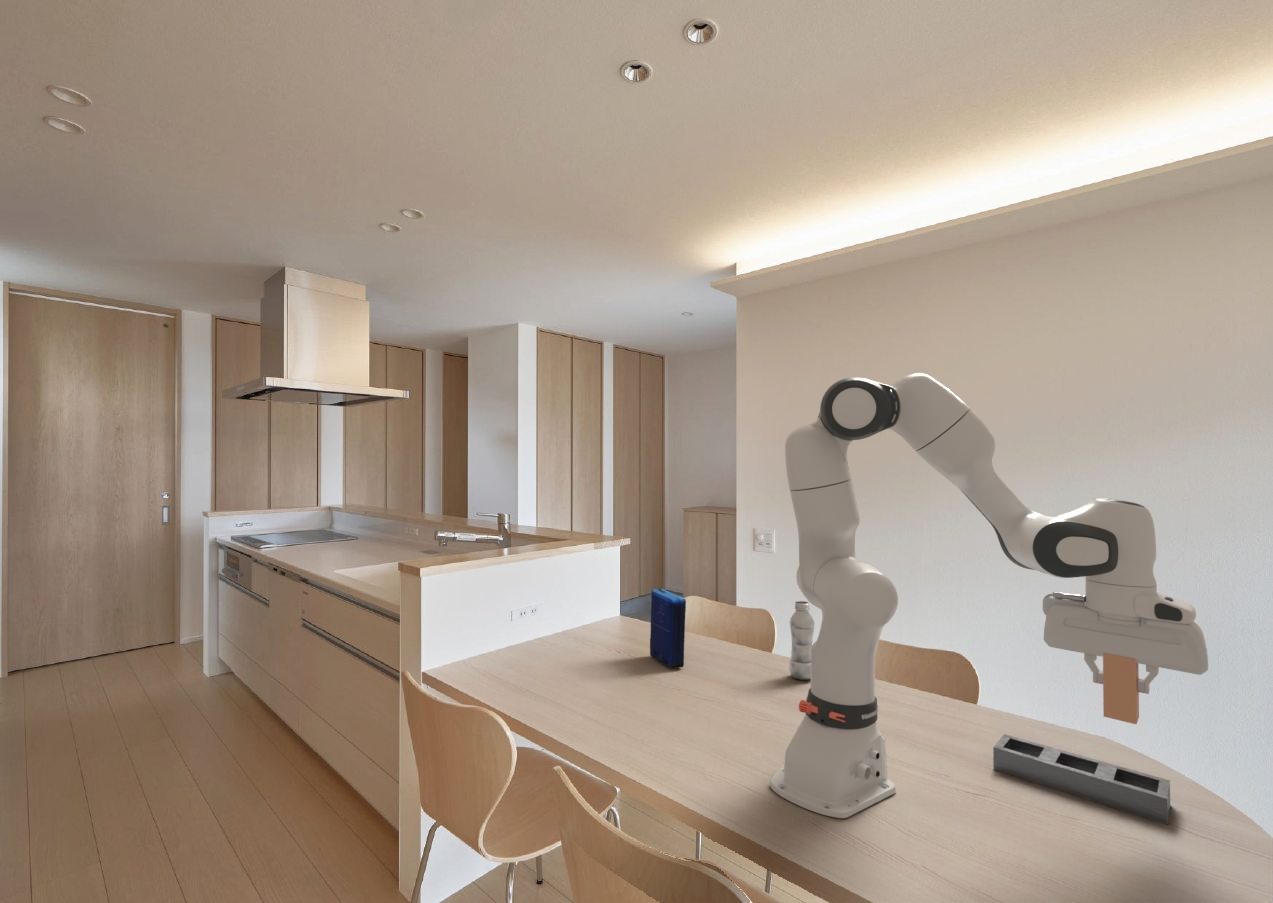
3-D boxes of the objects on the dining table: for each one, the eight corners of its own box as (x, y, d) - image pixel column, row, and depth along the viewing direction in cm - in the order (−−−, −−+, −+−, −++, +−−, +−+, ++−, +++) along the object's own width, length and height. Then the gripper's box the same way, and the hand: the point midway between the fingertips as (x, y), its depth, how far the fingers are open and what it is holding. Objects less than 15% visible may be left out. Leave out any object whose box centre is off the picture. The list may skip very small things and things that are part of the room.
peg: (1136, 724, 91) (1135, 658, 91) (1103, 716, 94) (1103, 653, 94) (1139, 717, 94) (1138, 653, 94) (1107, 709, 97) (1106, 648, 97)
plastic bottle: (809, 674, 160) (809, 599, 160) (818, 682, 153) (818, 605, 154) (786, 673, 160) (786, 599, 160) (793, 682, 153) (793, 605, 154)
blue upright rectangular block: (646, 656, 173) (647, 588, 173) (662, 654, 175) (663, 586, 176) (669, 672, 160) (670, 597, 160) (686, 669, 162) (687, 596, 163)
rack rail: (1167, 824, 92) (1167, 798, 92) (993, 769, 109) (993, 747, 109) (1170, 804, 98) (1169, 780, 98) (1004, 754, 115) (1004, 734, 115)
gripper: (1038, 592, 99) (1038, 675, 99) (1207, 614, 85) (1208, 712, 84) (1046, 587, 104) (1046, 666, 103) (1208, 608, 89) (1209, 700, 89)
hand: (1120, 687), depth 94 cm, fingers closed on peg, 4 cm apart
